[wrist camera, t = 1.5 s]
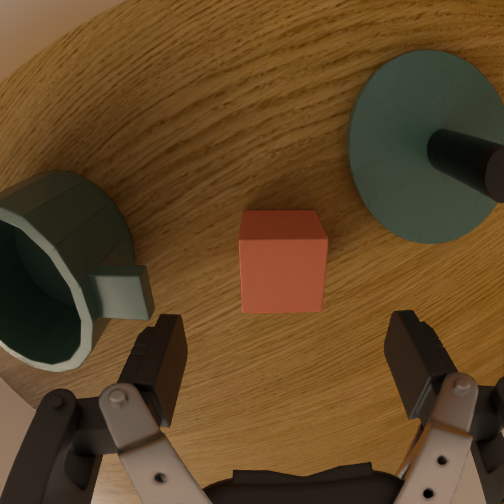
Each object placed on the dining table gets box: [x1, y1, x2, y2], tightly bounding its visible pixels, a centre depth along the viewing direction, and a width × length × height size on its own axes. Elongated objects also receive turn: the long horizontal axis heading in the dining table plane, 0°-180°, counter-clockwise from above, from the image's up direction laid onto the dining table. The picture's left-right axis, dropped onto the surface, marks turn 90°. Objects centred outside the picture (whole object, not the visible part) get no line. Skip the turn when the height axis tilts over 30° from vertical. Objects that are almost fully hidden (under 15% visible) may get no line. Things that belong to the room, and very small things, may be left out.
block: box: [238, 210, 329, 313], centre depth 17 cm, size 4×4×4 cm
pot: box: [0, 171, 155, 372], centre depth 16 cm, size 10×16×6 cm, turn 92°
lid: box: [347, 50, 504, 244], centre depth 13 cm, size 11×11×7 cm
